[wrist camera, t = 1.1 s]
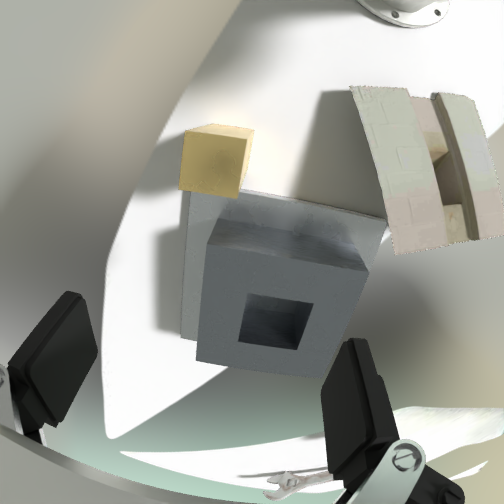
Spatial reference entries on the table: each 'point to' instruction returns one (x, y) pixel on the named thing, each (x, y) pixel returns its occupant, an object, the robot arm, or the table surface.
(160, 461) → the table surface
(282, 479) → the wrench
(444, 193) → the beige piece
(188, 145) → the brass pin
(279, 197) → the collar block
